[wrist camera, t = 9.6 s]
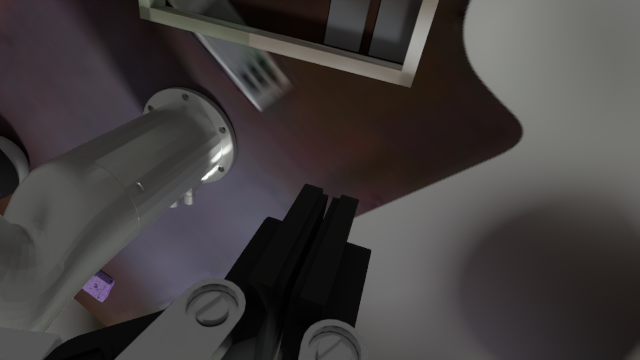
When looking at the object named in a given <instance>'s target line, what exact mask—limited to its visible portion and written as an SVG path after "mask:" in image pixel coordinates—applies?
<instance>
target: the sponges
mask: <svg viewBox="0 0 640 360" xmlns="http://www.w3.org/2000/svg"><path fill="white" fill-rule="evenodd" d="M114 282H115V281H114V280H113V279H112V278H110V277H109V276H107V275H106V274H104V273H103V272H101V271H100V270H99V271H98V272H97V273H96V274H95V275H94V276H93V277H92V278H91V279H90V280H89V281H88V282H87V283H86V284H85V285H84V286H83V287H82V288H83V289H84V290H85V291H87V292H88V293H89V294H91V295H93V297H95V298H96V299H98V300H99V301H101V302H103V301H104V300H105V299H106V298H107V296H108V294H109V292H110V290H111V288H112V286H113V284H114Z"/></svg>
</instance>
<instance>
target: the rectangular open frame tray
mask: <svg viewBox="0 0 640 360" xmlns="http://www.w3.org/2000/svg"><path fill="white" fill-rule="evenodd" d="M438 1H439V0H382V1H381V5H380V9H379V13H378V17H377V21H376V25H375V29H374V33H373V37H372V41H371V46H370V50H369V54H368V55H371V56H375V57H379V58H383V59H387V60H391V61H395V62H399V63H403V64H404V65H400V64H396V63H392V62H388V61H384V60H380V59H376V58H372V57H368V56H364V55H360V54H356V53H352V52H348V51H344V50H340V49H336V48H332V47H328V46H324V45H320V44H316V43H312V42H308V41H304V40H300V39H296V38H292V37H288V36H284V35H280V34H276V33H272V32H268V31H264V30H260V29H256V28H252V27H248V26H244V25H240V24H236V23H232V22H228V21H224V20H220V19H216V18H212V17H208V16H204V15H200V14H196V13H192V12H188V11H184V10H180V9H176V8H172V7H168V6H165V0H139V10H140V18H142V19H146V20H150V21H154V22H158V23H162V24H166V25H169V26H173V27H177V28H181V29H185V30H189V31H193V32H197V33H201V34H204V35H208V36H212V37H216V38H220V39H224V40H228V41H232V42H235V43H239V44H243V45H247V46H251V47H255V48H259V49H263V50H267V51H270V52H274V53H278V54H282V55H286V56H290V57H294V58H298V59H302V60H305V61H309V62H313V63H317V64H321V65H325V66H329V67H333V68H337V69H340V70H344V71H348V72H352V73H356V74H360V75H364V76H368V77H372V78H375V79H379V80H383V81H387V82H391V83H395V84H399V85H403V86H407V87H411V84H412V81H413V78H414V75H415V72H416V69H417V66H418V63H419V60H420V57H421V53H422V50H423V47H424V44H425V41H426V38H427V35H428V32H429V29H430V26H431V23H432V20H433V16H434V13H435V10H436V7H437V4H438ZM369 4H370V0H331V6H330V11H329V17H328V23H327V28H326V34H325V40H324V44H327V45H331V46H335V47H339V48H343V49H347V50H351V51H355V52H359V48H360V44H361V39H362V35H363V30H364V26H365V22H366V17H367V13H368V9H369Z"/></svg>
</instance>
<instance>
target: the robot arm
mask: <svg viewBox="0 0 640 360" xmlns="http://www.w3.org/2000/svg"><path fill="white" fill-rule="evenodd" d="M236 151H237V145H236V137H235V134H234V131H233V128H232V126H231V124H230V122H229V120H228V118H227V117H226V116H225V114H224V113H223V111H222V110H221V109H220V108H219V107H218V106H217V105H216V104H215V103H214V102H213V101H212V100H210V99H209V98H208V97H206V96H205V95H203V94H201V93H199V92H197V91H195V90H192V89H189V88H184V87H171V88H167V89H164V90H162V91H160V92H158V93H156V94H154V95H153V96H152V97H151V98H150V99H149V100H148V102H147V103H146V105H145V108H144V111H143V115H142V116H140V117H138V118H136V119H134V120H132V121H130V122H128V123H126V124H124V125H121V126H119V127H117V128H115V129H113V130H111V131H109V132H107V133H105V134H103V135H101V136H99V137H97V138H95V139H92V140H90V141H88V142H86V143H84V144H82V145H80V146H78V147H76V148H74V149H72V150H70V151H68V152H66V153H63V154H61V155H59V156H57V157H55V158H53V159H51V160H49V161H47V162H45V163H43V164H41V165H40V166H38V167H36V168H35V169H34V170H33V171H31V172H30V173H29V174H28V175H27V176H26V177H25V178H24V179H23V180H22V181H21V183H20V184H19V185H18V187H17V189H16V190H15V192H14V193H13V195H12V197H11V199H10V201H9V204H8V206H7V208H6V210H5V213H4V215H3V216H2V215H1V214H0V360H273V359H274V356H275V354H276V351H277V349H278V346H279V344H280V342H281V345H280V351H279V356H278V360H369V357H368V350H367V346H366V343H365V341H364V339H363V337H362V336H361V335H360V334H359V333H358V331H357V330H356V329H355V323H356V319H357V314H358V310H359V305H360V300H361V296H362V292H363V287H364V283H365V278H366V273H367V269H368V264H369V259H370V255H371V250H370V249H367V248H364V247H361V246H357V245H355V244H352V243H348V242H347V239H348V236H349V232H350V229H351V226H352V223H353V219H354V216H355V212H356V209H357V206H358V202H359V200H358V199H355V198H352V197H348V196H345V195H341V197H340V199H339V198H335V197H333V199H332V201H331V204H330V206H329V208H328V210H327V213H326V215H325V217H324V213H325V209H326V205H327V201H328V195H326V194H323V189H322V188H319V187H316V186H313V185H309V184H305V185H304V187H303V188H302V190H301V192H300V193H299V195H298V197H297V198H296V200H295V201H294V203H293V205H292V206H291V208H290V210H289V211H288V213H287V215H286V216H285V218H284V220H283V221H281V220H278V219H275V218H272V217H267V218H266V219H265V220H264V221H263V223H262V224H261V226H260V227H259V229H258V230H257V232H256V233H255V235H254V236H253V238H252V239H251V240H250V242H249V243H248V245H247V246H246V248H245V249H244V251H243V252H242V254H241V255H240V257H239V258H238V259H237V261H236V262H235V264H234V265H233V267H232V268H231V270H230V271H229V273H228V274H227V276H226V277H225V278H224V279H215V278H213V279H207V280H203V281H200V282H198V283H195V284H194V285H192V286H191V287H189V288H188V289H187V290H186V291H185V292H184V293H183V294H182V295H181V296H179V297H178V298H177V299H176V300H175V301H174V302H173V303H172V304H171V305H170V306H169V307H168V308H167V309H166V310H163V311H159V312H156V313H152V314H149V315H146V316H142V317H139V318H136V319H132V320H129V321H126V322H122V323H119V324H116V325H112V326H109V327H106V328H102V329H99V330H96V331H93V332H89V333H86V334H83V335H79V336H77V337H74V338H72V339H70V340H64V339H61V338H60V335H59V334H51V333H45V332H46V330H47V329H48V328H49V327H50V325H51V324H52V323H53V322H54V320H55V319H56V318H57V317H58V316H59V314H60V313H61V312H62V311H63V309H64V308H65V307H66V305H67V304H68V303H69V302H70V301H71V300H72V298H73V297H74V296H75V295H76V294H77V293H78V292H79V291H80V290H81V288H82V287H83V286H84V285H85V284H86V283H87V282H88V281H89V280H90V279H91V278H92V277H93V276H94V275H95V274H96V273H97V272H98V271H99V270H100V269H101V268H102V267H103V266H104V265H105V264H106V263H107V262H108V261H109V260H111V259H112V258H113V257H114V256H115V255H116V254H117V253H118V252H119V251H120V250H122V249H123V248H124V247H125V246H126V245H127V244H128V243H129V242H131V241H132V240H133V239H134V238H135V237H136V236H138V235H139V234H140V233H141V232H142V231H143V230H144V229H146V228H147V227H148V226H149V225H150V224H151V223H152V222H153V221H155V220H156V219H157V218H158V217H159V216H160V215H161V214H162V213H164V212H165V211H166V210H167V209H168V208H169V207H177V206H179V205H180V203H181V202H180V198H181V197H182V196H183V195H184V203H185V204H188V205H191V204H193V203H194V202H195V193H194V190H195V189H196V188H197V187H198V186H200V185H201V184H202V183H210V182H214V181H216V180H219V179H220V178H222V177H223V176H224V175H225V174H226V173H227V172H228V171H229V170H230V169H231V167H232V165H233V164H234V161H235V158H236ZM323 218H324V219H323ZM281 339H282V340H281Z"/></svg>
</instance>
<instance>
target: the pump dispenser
mask: <svg viewBox="0 0 640 360" xmlns="http://www.w3.org/2000/svg"><path fill="white" fill-rule="evenodd" d="M28 173H29V164H28V161H27V158H26V156H25V154H24V153H23V151H22V150H21V149H20V148H19V147H18V146H17V145H16V144H15V143H13V142H12V141H11V140H9V139H7V138H5V137H3V136H0V199H2V198H5V197H7V196H9V195H11V194H13V193H14V192H15V190H16V189H17V187H18V185H19V184H20V183H21V181H22V180H23V179H24V178H25V177H26V176H27V175H28Z"/></svg>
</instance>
